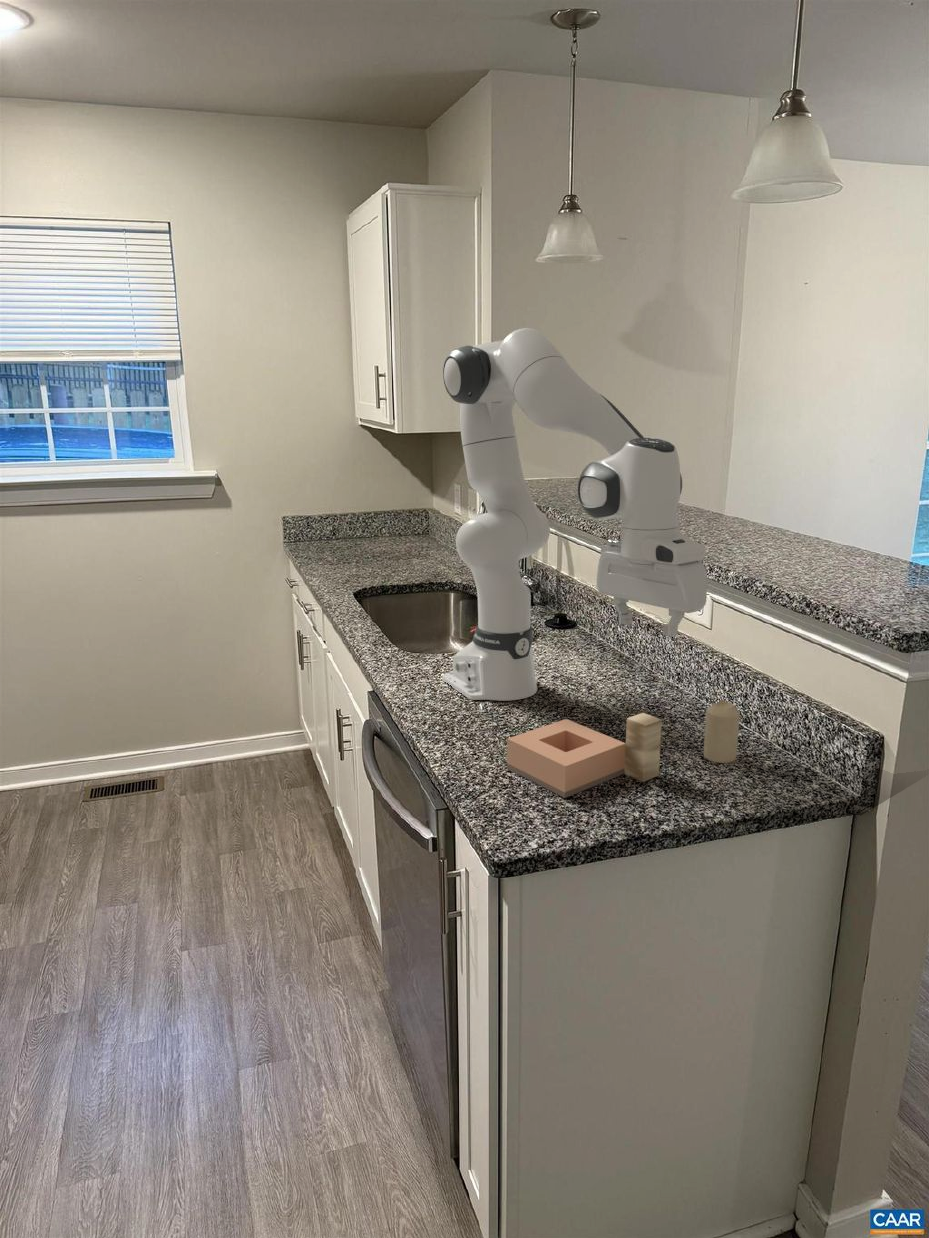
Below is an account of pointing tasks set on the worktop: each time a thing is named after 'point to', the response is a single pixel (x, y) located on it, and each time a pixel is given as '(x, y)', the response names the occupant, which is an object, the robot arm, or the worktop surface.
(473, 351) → the robot arm
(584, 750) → the well block
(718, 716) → the candle
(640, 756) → the peg
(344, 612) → the worktop surface
